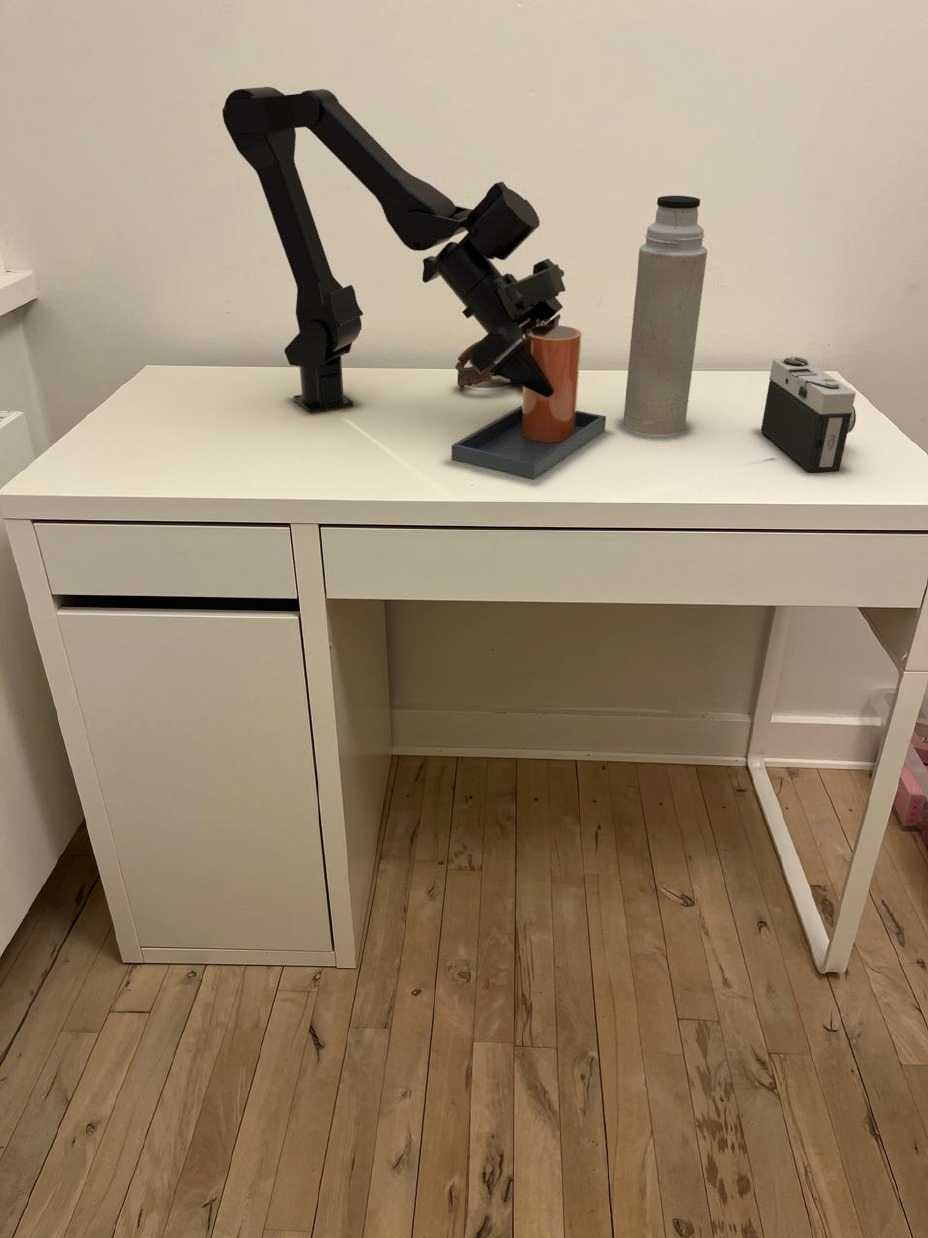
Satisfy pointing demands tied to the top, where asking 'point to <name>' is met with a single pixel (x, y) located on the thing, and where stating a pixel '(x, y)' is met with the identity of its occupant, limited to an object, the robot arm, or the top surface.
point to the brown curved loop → (472, 371)
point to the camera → (808, 414)
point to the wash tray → (522, 445)
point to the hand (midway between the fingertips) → (561, 385)
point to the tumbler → (553, 384)
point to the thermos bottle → (665, 318)
